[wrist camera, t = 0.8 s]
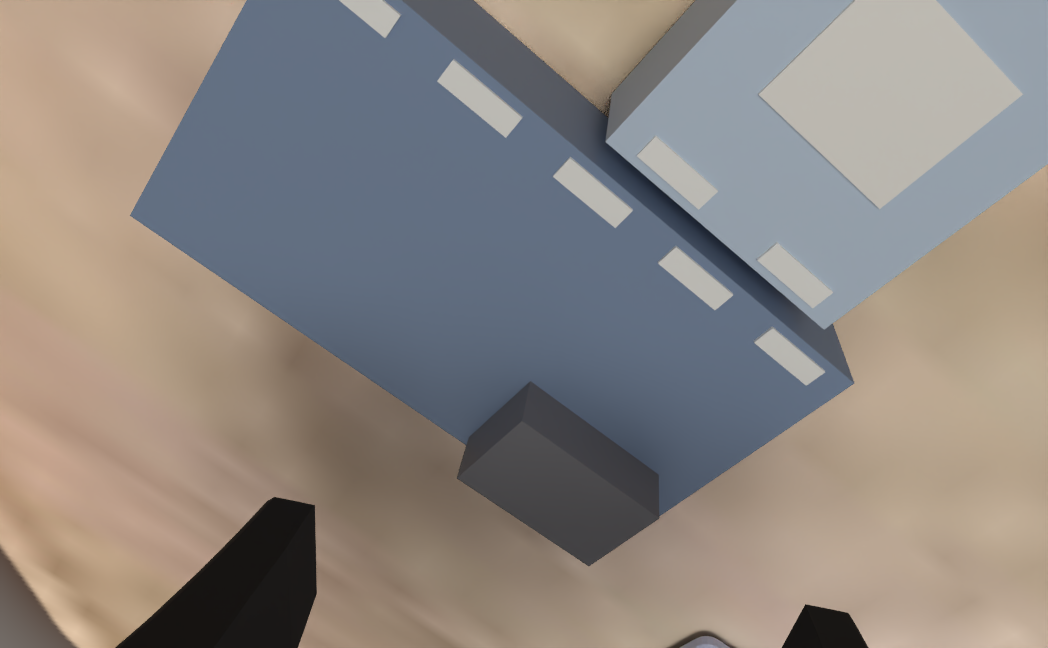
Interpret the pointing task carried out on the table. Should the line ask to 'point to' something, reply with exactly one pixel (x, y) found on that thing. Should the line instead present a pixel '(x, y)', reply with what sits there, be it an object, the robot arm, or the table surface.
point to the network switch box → (485, 259)
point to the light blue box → (838, 130)
